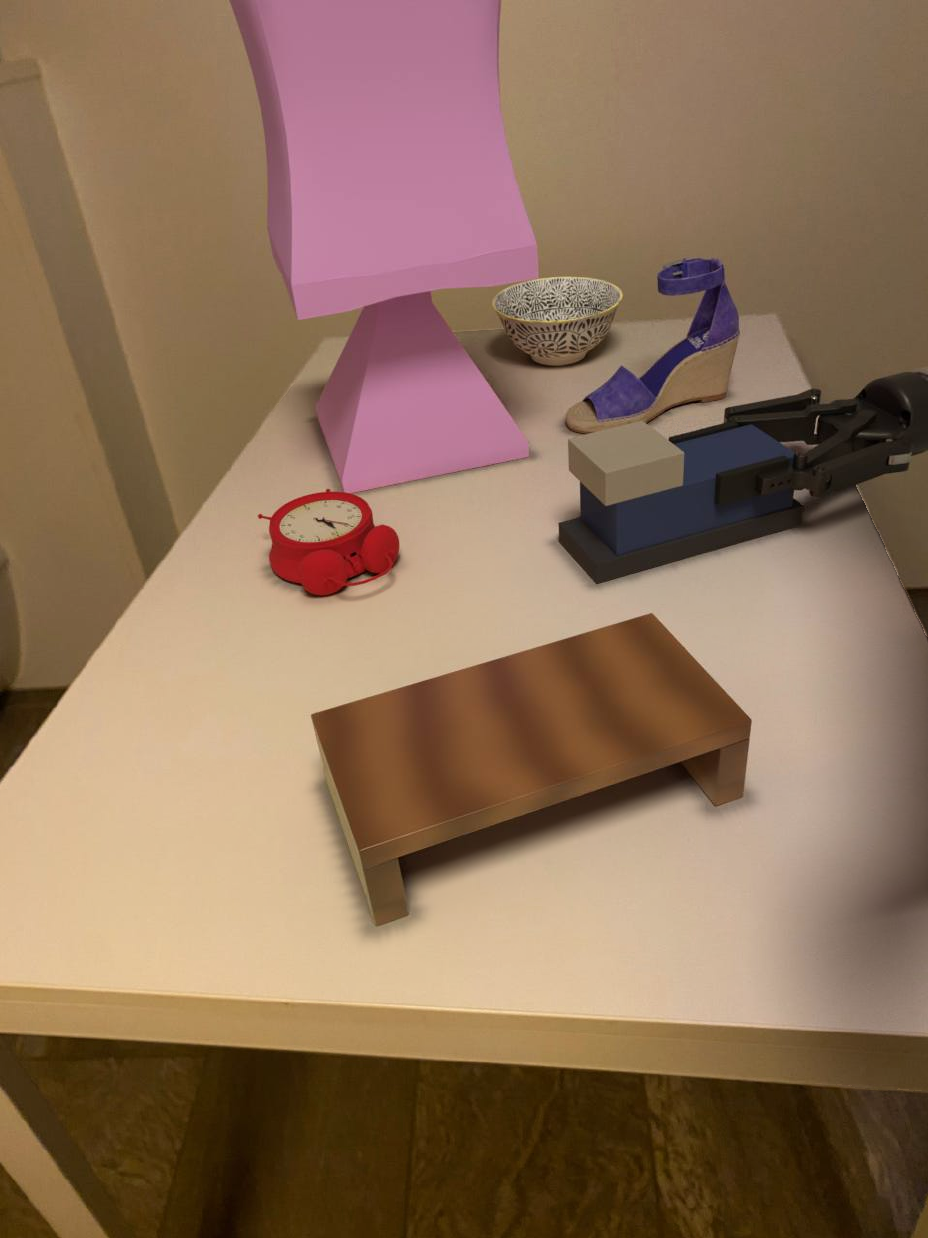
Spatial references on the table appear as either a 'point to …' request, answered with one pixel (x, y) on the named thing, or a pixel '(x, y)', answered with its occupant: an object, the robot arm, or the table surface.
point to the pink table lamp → (391, 216)
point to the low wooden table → (521, 743)
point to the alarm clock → (329, 541)
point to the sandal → (672, 357)
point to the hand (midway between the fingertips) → (693, 470)
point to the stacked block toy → (665, 498)
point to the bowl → (557, 316)
